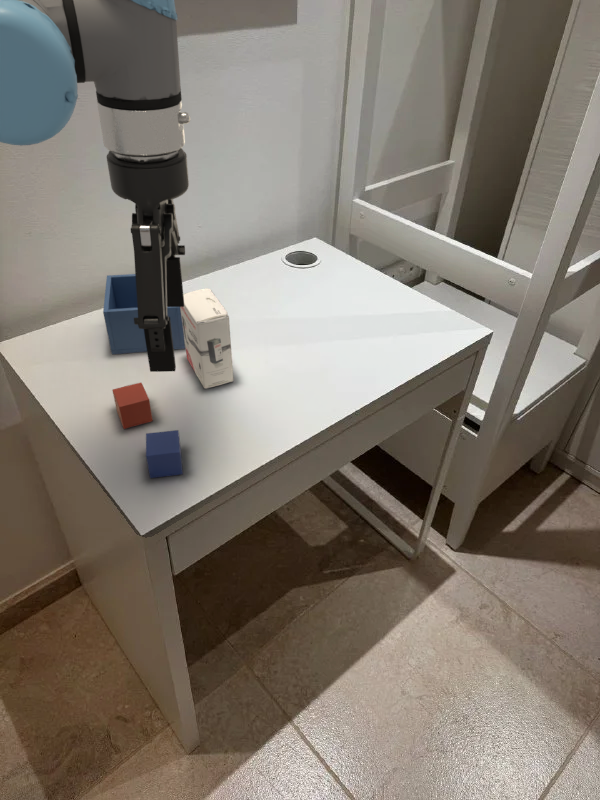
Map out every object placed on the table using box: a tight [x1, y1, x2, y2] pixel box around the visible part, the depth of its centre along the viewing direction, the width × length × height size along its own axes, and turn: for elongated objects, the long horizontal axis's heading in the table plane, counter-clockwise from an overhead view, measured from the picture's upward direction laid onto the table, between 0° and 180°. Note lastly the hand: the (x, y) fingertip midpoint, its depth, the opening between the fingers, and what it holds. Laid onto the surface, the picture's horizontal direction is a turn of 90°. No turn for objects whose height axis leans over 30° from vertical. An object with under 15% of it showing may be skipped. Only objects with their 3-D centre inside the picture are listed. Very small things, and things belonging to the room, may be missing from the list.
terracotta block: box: [111, 382, 153, 430], centre depth 79 cm, size 4×4×4 cm
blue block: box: [145, 429, 183, 479], centre depth 72 cm, size 4×4×4 cm
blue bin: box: [102, 273, 186, 355], centre depth 94 cm, size 11×11×8 cm
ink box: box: [180, 287, 234, 389], centre depth 85 cm, size 9×5×12 cm, turn 27°
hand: (168, 335), depth 69 cm, fingers open, 13 cm apart
